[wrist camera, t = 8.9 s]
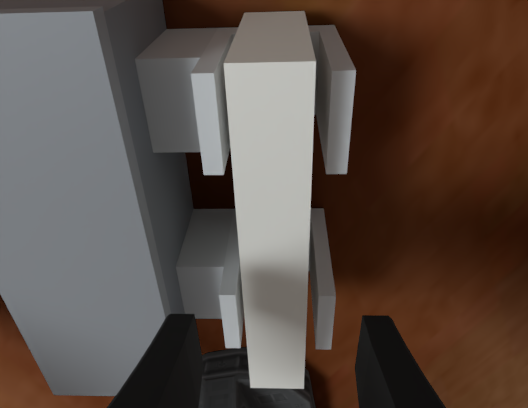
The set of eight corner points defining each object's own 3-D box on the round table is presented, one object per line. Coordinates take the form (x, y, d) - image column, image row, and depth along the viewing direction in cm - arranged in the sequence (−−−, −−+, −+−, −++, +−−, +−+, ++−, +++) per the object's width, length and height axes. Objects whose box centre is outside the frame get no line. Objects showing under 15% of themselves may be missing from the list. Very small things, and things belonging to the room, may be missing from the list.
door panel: (244, 12, 14) (223, 63, 9) (304, 11, 14) (316, 61, 9) (258, 276, 21) (250, 388, 16) (298, 276, 21) (303, 388, 16)
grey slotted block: (337, -29, 14) (371, 3, 9) (319, 281, 22) (330, 400, 17) (12, -19, 15) (-147, 17, 9) (108, 280, 23) (54, 394, 17)
